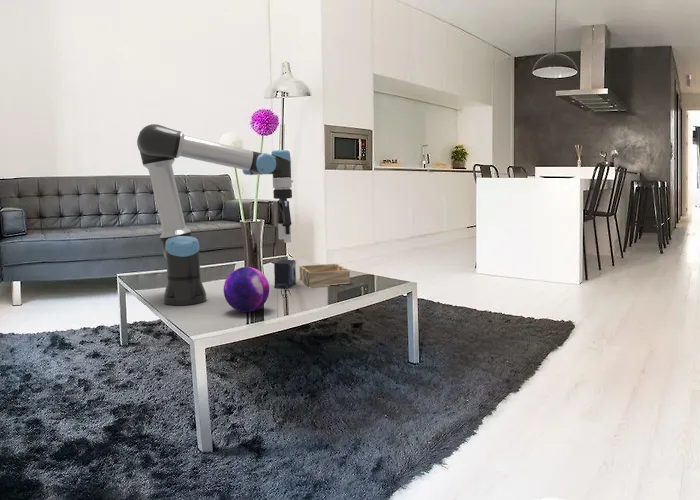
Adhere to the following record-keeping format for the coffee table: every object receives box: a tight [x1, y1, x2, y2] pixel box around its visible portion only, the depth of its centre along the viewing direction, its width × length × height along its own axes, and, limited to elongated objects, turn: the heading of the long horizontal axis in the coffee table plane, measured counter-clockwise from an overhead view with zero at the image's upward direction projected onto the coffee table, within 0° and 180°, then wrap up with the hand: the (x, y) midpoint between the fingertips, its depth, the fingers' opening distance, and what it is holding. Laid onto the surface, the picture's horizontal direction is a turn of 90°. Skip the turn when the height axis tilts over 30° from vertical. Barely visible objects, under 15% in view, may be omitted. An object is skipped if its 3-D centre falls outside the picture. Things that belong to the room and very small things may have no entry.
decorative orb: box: [223, 266, 270, 313], centre depth 191 cm, size 15×15×15 cm
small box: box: [273, 259, 297, 289], centre depth 237 cm, size 11×6×10 cm, turn 168°
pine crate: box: [298, 263, 351, 289], centre depth 244 cm, size 21×17×6 cm
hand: (284, 240), depth 235 cm, fingers open, 13 cm apart
